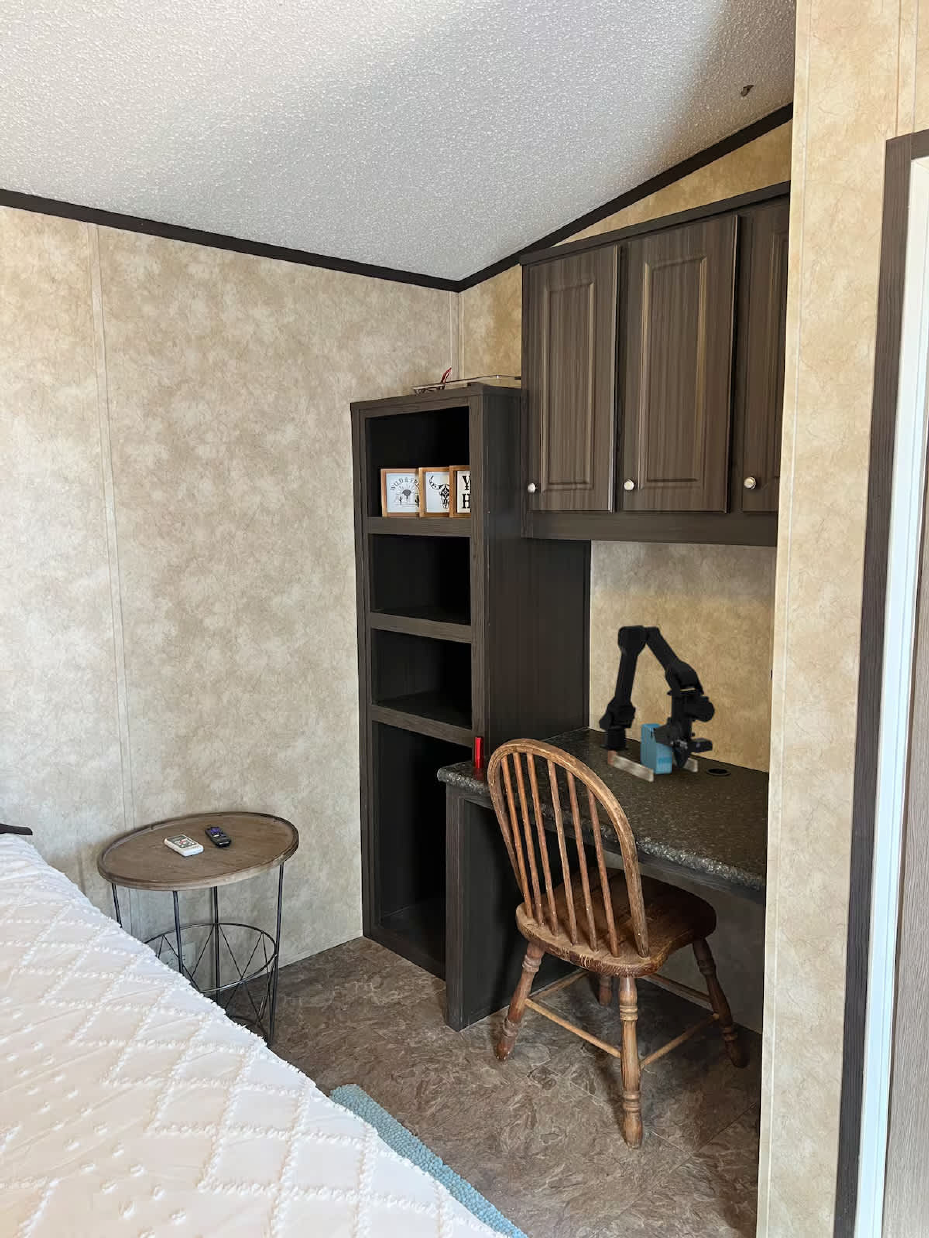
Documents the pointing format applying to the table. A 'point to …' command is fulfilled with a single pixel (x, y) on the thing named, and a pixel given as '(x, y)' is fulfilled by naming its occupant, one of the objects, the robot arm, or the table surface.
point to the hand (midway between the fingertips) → (680, 769)
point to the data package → (654, 751)
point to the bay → (642, 770)
